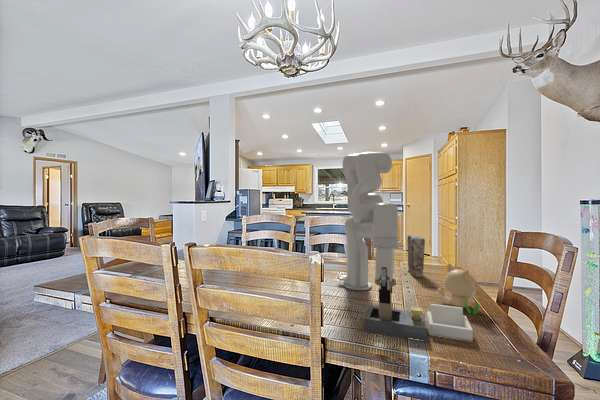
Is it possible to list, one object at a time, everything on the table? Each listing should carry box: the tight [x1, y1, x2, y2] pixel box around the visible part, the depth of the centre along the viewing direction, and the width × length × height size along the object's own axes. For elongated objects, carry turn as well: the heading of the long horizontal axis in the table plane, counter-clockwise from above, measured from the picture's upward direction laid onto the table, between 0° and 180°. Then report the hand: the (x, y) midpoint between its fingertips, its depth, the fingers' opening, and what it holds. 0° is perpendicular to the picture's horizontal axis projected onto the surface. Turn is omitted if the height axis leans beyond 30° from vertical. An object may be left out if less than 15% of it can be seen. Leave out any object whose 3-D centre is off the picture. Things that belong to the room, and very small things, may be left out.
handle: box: [374, 277, 397, 320], centre depth 87 cm, size 5×6×15 cm
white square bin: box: [426, 303, 474, 344], centre depth 84 cm, size 11×10×6 cm
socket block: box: [363, 305, 428, 342], centre depth 86 cm, size 17×10×4 cm, turn 69°
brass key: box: [410, 306, 423, 321], centre depth 84 cm, size 3×3×7 cm
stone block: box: [406, 234, 426, 278], centre depth 146 cm, size 13×7×20 cm, turn 177°
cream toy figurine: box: [437, 263, 479, 315], centre depth 103 cm, size 15×10×15 cm
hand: (385, 297), depth 86 cm, fingers open, 9 cm apart
